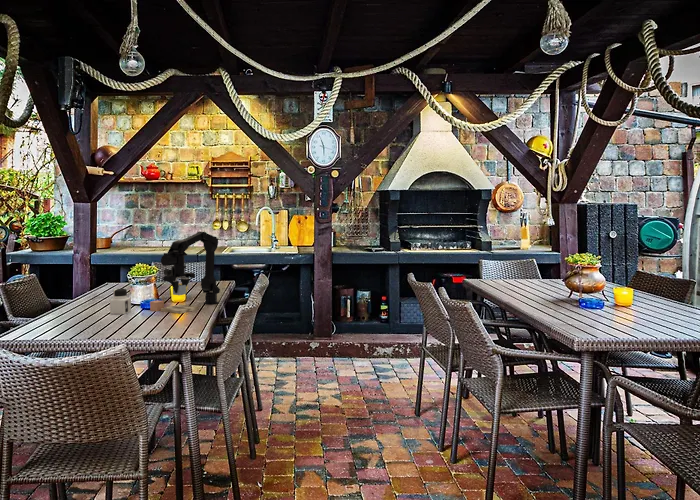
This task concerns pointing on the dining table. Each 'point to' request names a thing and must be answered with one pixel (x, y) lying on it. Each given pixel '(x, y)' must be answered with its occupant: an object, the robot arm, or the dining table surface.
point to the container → (120, 302)
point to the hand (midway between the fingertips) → (179, 292)
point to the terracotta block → (156, 305)
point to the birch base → (179, 309)
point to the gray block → (180, 290)
